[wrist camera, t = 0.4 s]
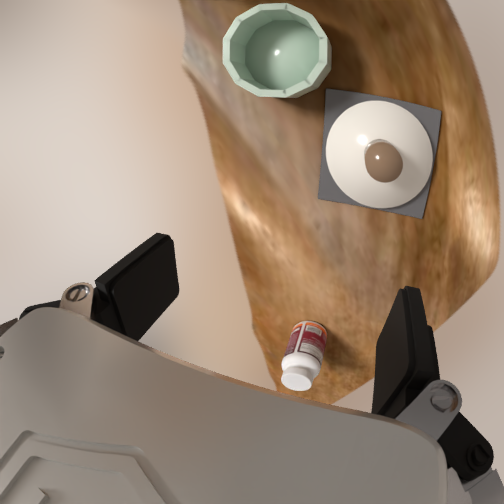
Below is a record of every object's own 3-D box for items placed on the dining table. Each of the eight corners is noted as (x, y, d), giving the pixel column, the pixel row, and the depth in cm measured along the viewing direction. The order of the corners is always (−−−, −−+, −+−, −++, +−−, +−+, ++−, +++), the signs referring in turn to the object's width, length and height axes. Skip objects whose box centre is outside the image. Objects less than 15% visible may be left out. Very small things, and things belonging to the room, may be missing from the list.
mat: (326, 88, 28) (325, 88, 28) (440, 110, 24) (441, 111, 24) (318, 197, 36) (317, 198, 35) (421, 217, 32) (421, 218, 31)
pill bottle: (300, 345, 50) (284, 394, 41) (287, 322, 48) (269, 371, 39) (332, 341, 47) (321, 393, 38) (321, 316, 45) (308, 369, 36)
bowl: (242, 18, 26) (223, 8, 22) (331, 17, 23) (327, 3, 19) (241, 96, 32) (222, 96, 28) (329, 101, 29) (325, 100, 25)
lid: (330, 93, 28) (325, 91, 24) (437, 113, 25) (451, 117, 20) (321, 195, 35) (316, 211, 31) (419, 214, 31) (427, 233, 27)
